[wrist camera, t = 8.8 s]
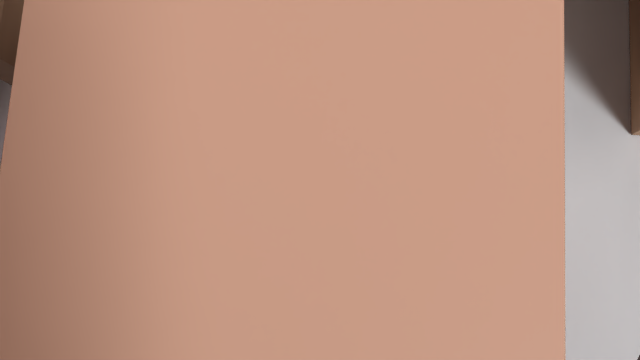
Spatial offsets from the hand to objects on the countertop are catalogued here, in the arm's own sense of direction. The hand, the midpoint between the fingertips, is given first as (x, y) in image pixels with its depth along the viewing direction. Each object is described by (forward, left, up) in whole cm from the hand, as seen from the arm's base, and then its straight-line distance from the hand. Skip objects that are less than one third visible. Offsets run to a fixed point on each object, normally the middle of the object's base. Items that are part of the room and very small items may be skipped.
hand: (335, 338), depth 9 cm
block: (+1, 0, -8) cm, 8 cm away
